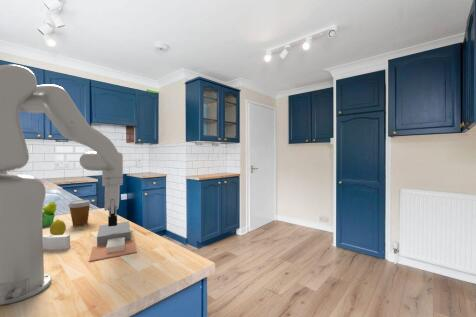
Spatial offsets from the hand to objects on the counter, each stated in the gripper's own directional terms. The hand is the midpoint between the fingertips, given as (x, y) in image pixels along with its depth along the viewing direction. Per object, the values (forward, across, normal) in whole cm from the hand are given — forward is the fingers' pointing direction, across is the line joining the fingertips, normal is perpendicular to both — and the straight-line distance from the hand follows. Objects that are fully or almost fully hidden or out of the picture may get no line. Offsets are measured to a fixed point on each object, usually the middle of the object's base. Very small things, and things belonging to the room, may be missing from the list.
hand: (112, 225), depth 95 cm
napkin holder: (+8, -5, -21) cm, 23 cm away
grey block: (+7, -5, +1) cm, 9 cm away
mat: (+7, +9, +1) cm, 12 cm away
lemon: (+7, -17, -22) cm, 28 cm away
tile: (+7, +7, +1) cm, 10 cm away
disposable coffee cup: (+7, -34, -16) cm, 38 cm away
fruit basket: (+7, -44, -32) cm, 55 cm away
